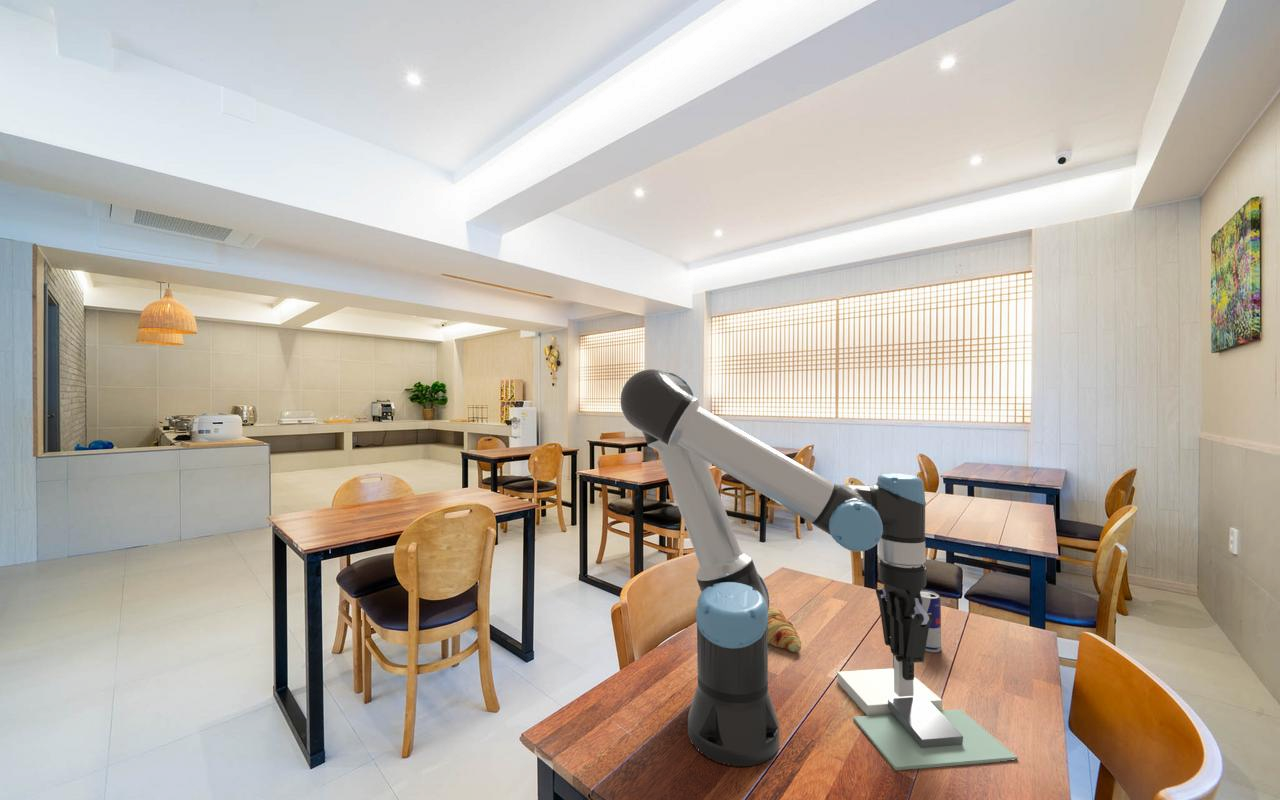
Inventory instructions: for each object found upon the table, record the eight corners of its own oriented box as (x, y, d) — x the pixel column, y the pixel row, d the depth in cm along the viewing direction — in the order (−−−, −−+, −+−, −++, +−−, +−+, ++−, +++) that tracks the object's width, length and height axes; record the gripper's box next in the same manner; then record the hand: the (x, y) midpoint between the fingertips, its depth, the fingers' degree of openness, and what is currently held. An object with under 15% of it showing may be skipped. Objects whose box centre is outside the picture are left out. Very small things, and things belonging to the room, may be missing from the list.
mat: (895, 770, 74) (895, 767, 74) (853, 719, 86) (853, 716, 86) (1017, 760, 76) (1017, 756, 76) (960, 711, 88) (960, 709, 88)
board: (868, 716, 87) (867, 705, 87) (837, 681, 98) (837, 671, 98) (942, 711, 88) (942, 700, 88) (903, 677, 99) (903, 667, 99)
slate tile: (921, 748, 78) (922, 739, 78) (887, 706, 87) (888, 698, 87) (962, 744, 79) (963, 736, 79) (924, 703, 88) (925, 696, 87)
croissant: (810, 669, 109) (822, 634, 111) (778, 656, 105) (792, 620, 107) (750, 628, 128) (762, 598, 130) (722, 616, 125) (734, 586, 126)
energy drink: (945, 654, 108) (944, 599, 108) (918, 652, 109) (918, 597, 109) (935, 642, 113) (935, 590, 113) (910, 640, 114) (909, 588, 114)
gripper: (947, 572, 82) (949, 715, 82) (898, 549, 95) (900, 672, 95) (905, 574, 81) (907, 718, 81) (861, 551, 94) (863, 675, 94)
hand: (903, 693), depth 88 cm, fingers closed
